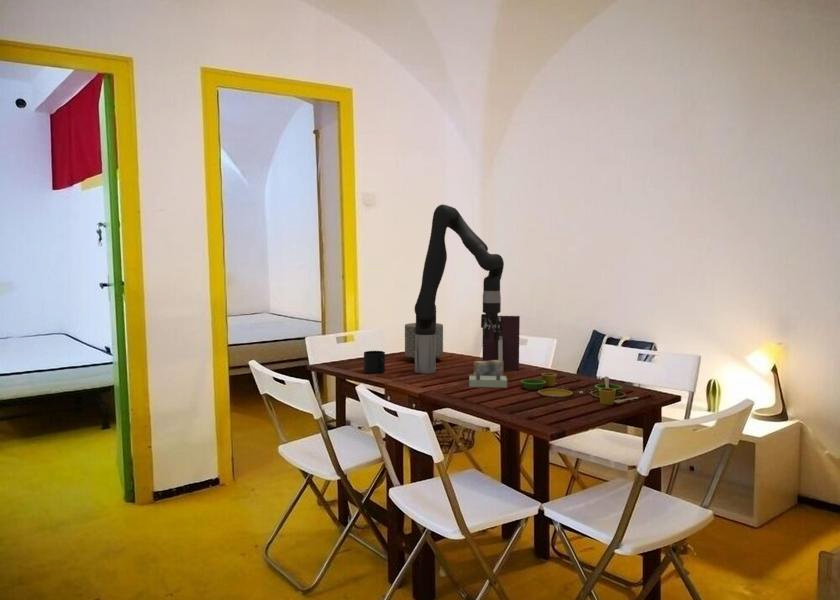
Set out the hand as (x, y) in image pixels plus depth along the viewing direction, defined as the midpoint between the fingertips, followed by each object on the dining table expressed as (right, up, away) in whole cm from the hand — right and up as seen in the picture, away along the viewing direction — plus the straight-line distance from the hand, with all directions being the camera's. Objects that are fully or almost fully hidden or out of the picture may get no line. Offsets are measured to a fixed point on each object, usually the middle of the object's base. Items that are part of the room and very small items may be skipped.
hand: (491, 339), depth 269 cm
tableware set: (+29, -20, -26) cm, 44 cm away
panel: (-1, -17, 0) cm, 17 cm away
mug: (-50, -16, +17) cm, 55 cm away
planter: (-28, -14, +48) cm, 58 cm away
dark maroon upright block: (+6, -16, +19) cm, 26 cm away
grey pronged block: (-3, -18, -11) cm, 21 cm away
